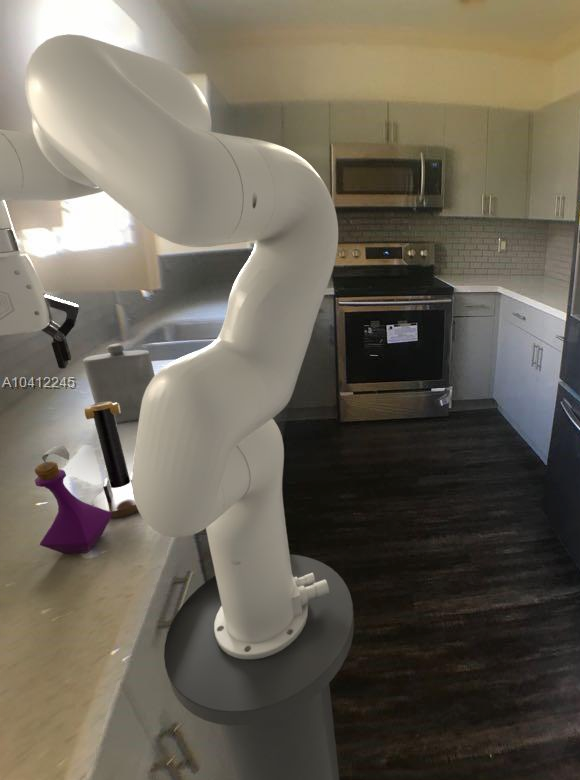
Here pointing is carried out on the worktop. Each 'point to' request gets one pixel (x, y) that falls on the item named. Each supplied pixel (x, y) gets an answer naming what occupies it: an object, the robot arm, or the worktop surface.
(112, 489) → the holder base
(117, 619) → the worktop surface
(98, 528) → the perfume bottle
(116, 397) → the flask
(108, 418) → the rod
